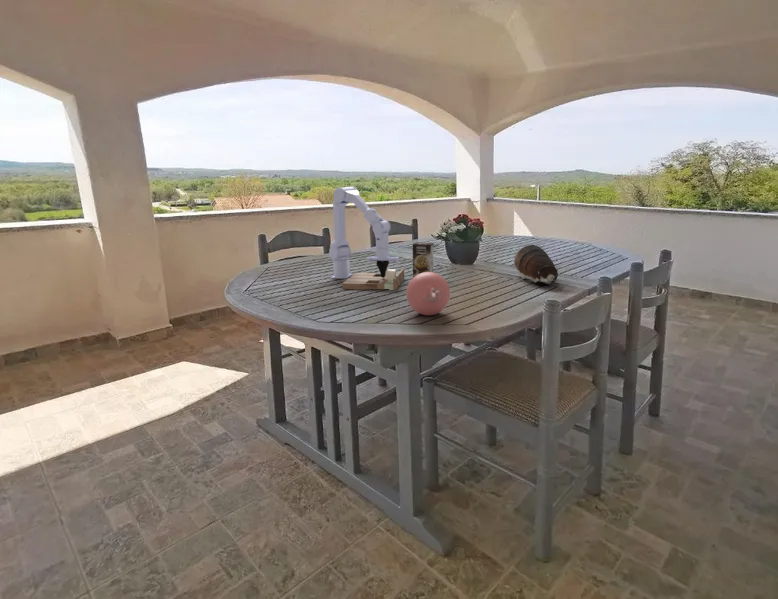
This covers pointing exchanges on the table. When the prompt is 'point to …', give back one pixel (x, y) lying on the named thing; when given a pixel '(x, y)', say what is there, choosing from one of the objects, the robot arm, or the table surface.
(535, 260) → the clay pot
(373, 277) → the deck
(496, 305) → the table surface
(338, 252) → the robot arm
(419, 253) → the cookie box
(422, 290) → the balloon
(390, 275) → the block
